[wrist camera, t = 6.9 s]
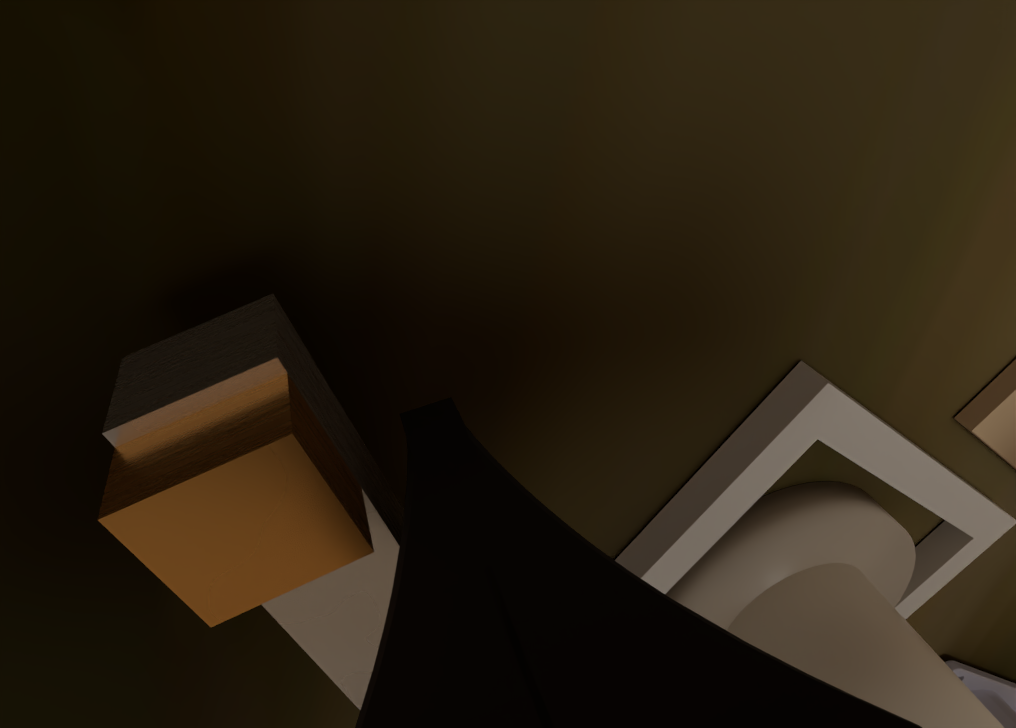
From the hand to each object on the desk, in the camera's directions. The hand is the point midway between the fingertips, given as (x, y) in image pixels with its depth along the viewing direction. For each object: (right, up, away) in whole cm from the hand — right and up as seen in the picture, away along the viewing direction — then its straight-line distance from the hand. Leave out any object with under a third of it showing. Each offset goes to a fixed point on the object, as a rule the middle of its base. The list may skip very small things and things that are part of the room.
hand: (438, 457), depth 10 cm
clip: (0, -4, +3) cm, 5 cm away
